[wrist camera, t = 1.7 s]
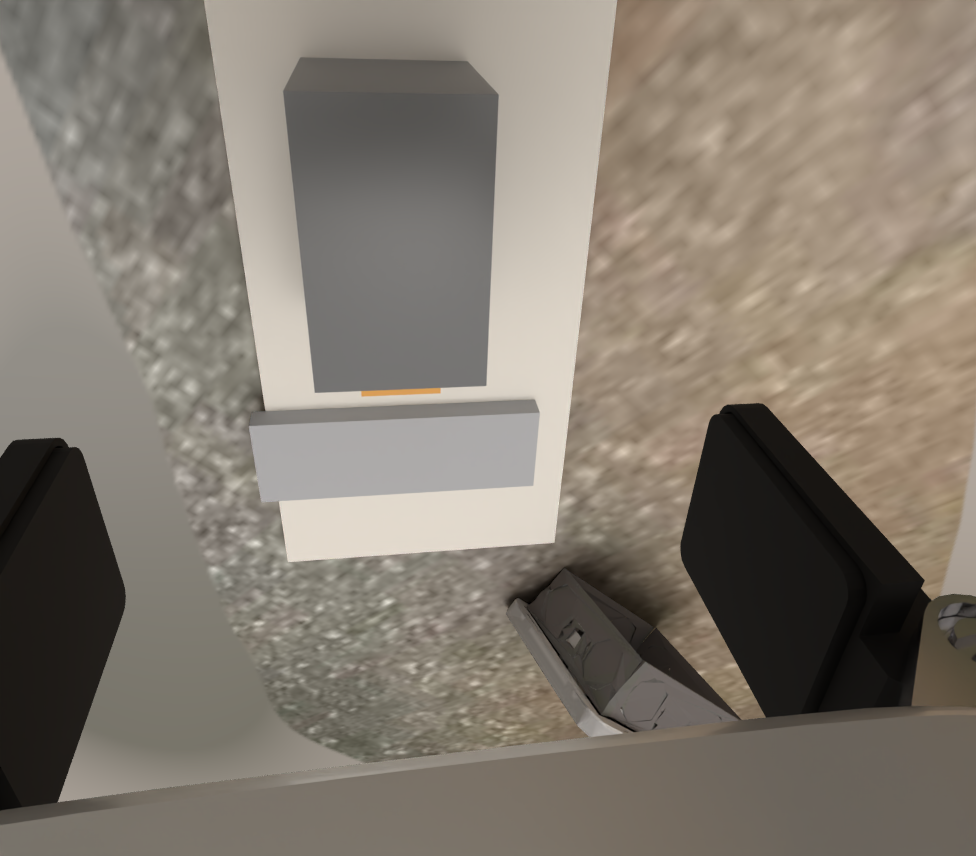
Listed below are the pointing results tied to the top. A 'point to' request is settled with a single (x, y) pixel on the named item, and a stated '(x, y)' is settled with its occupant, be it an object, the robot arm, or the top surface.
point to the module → (394, 220)
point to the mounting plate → (514, 277)
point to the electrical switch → (611, 663)
